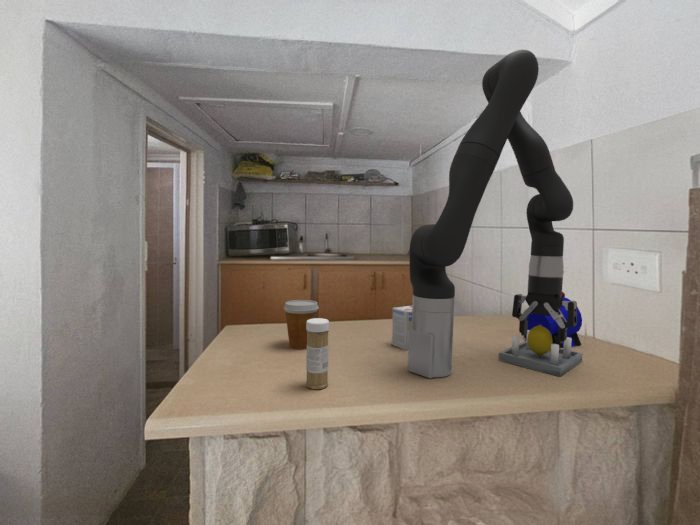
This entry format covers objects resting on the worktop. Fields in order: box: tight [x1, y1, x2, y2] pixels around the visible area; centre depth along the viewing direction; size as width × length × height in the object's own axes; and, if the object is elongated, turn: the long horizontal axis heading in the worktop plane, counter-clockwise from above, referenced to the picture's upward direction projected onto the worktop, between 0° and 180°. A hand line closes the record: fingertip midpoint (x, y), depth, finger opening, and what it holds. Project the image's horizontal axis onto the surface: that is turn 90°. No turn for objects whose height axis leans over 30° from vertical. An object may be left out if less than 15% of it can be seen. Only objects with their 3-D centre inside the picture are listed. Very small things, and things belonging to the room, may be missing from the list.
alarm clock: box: [523, 291, 583, 349], centre depth 109 cm, size 12×12×15 cm
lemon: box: [528, 325, 552, 356], centre depth 91 cm, size 6×6×8 cm
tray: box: [498, 330, 583, 378], centre depth 91 cm, size 16×14×6 cm
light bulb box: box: [391, 305, 412, 351], centre depth 103 cm, size 11×7×11 cm, turn 123°
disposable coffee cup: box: [283, 299, 320, 350], centre depth 100 cm, size 10×10×12 cm
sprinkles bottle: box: [305, 317, 330, 390], centre depth 73 cm, size 5×5×13 cm
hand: (541, 338), depth 91 cm, fingers open, 8 cm apart
